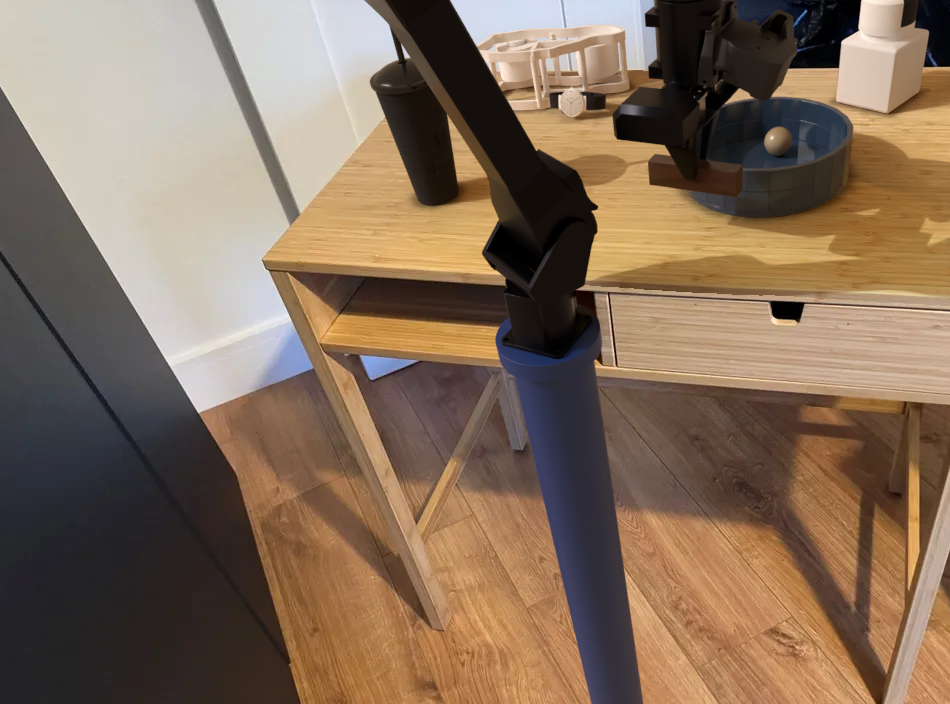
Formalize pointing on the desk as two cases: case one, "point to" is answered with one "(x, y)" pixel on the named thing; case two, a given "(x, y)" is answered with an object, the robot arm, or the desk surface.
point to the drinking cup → (417, 128)
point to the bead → (778, 141)
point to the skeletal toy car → (557, 60)
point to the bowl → (780, 177)
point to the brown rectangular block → (708, 179)
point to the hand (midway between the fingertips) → (694, 174)
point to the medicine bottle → (882, 57)
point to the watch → (577, 101)
